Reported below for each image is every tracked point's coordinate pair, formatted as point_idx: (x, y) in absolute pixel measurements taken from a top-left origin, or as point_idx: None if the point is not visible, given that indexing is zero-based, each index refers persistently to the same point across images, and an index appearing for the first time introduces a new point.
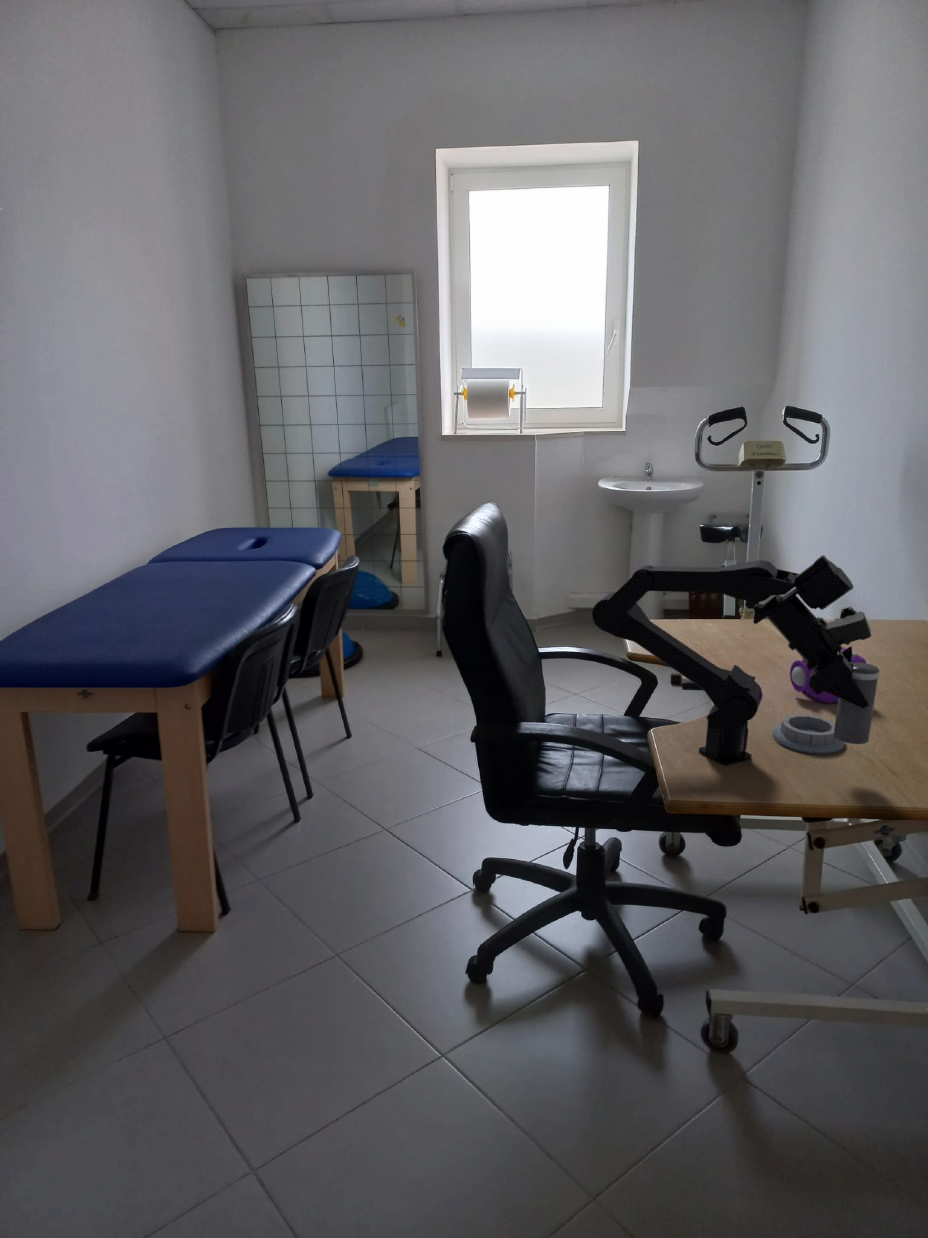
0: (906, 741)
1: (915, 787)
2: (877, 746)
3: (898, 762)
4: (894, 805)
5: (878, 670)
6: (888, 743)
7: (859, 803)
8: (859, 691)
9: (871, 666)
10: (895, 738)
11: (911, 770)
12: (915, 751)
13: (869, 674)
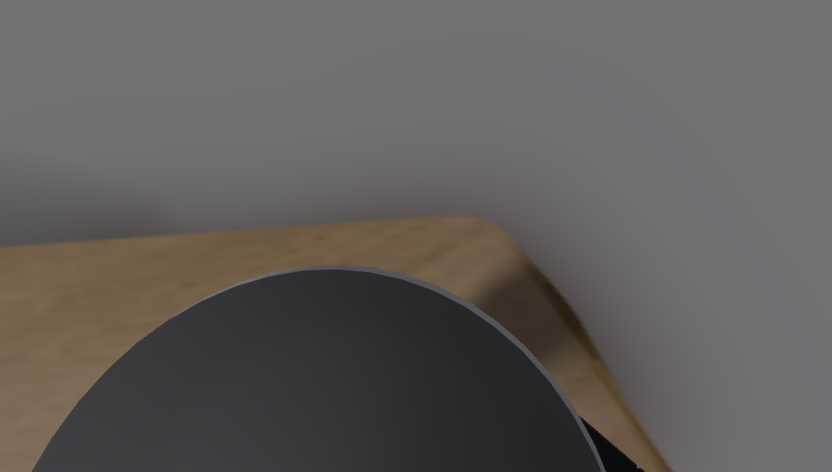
0: (49, 274)
1: (377, 227)
2: (119, 349)
3: (225, 280)
4: (518, 262)
5: (343, 273)
6: (82, 321)
7: (565, 345)
8: (610, 446)
9: (174, 399)
10: (33, 306)
11: (268, 244)
12: (123, 246)
13: (551, 380)
